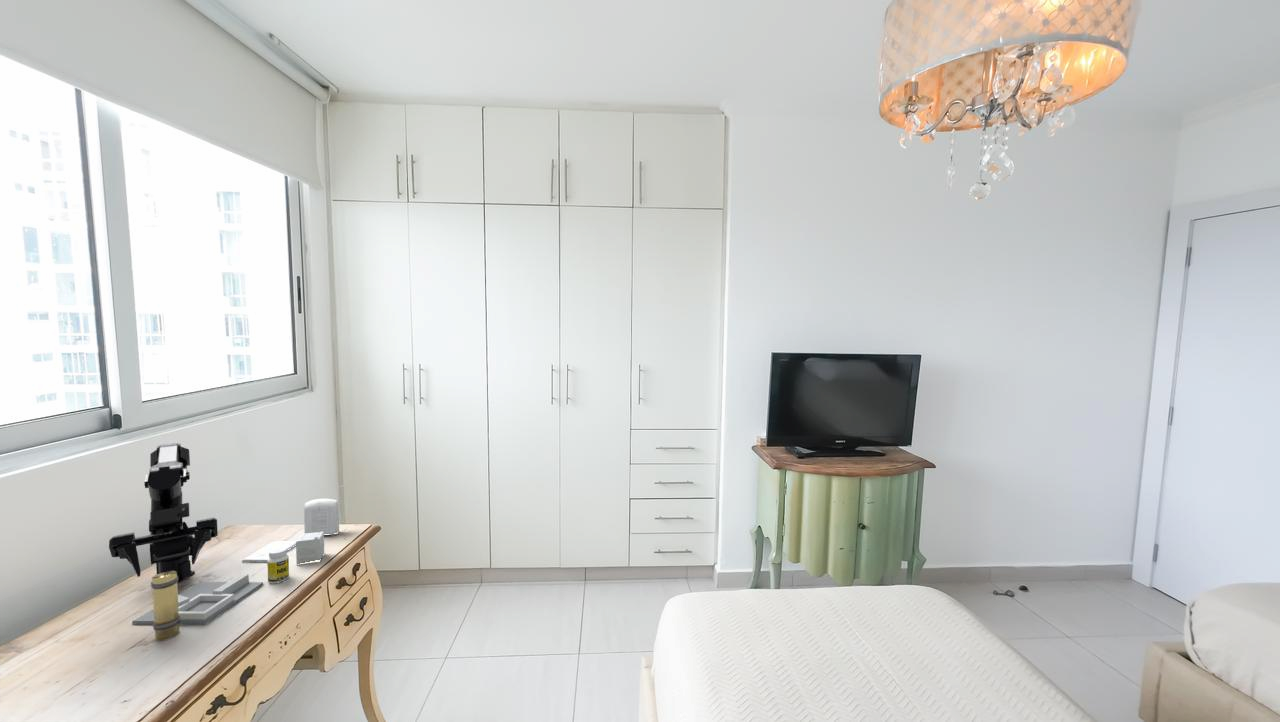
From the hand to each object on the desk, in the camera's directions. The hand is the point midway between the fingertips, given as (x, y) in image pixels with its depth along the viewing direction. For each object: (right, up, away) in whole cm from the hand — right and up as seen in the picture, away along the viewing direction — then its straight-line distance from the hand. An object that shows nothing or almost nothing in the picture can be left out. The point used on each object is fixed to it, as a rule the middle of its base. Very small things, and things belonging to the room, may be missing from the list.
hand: (166, 569), depth 115 cm
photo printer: (+4, -10, +51) cm, 52 cm away
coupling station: (+1, -12, +9) cm, 15 cm away
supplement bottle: (+11, -12, +21) cm, 26 cm away
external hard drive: (-3, -11, +37) cm, 39 cm away
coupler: (+4, -13, -4) cm, 14 cm away
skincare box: (+12, -11, +33) cm, 37 cm away
